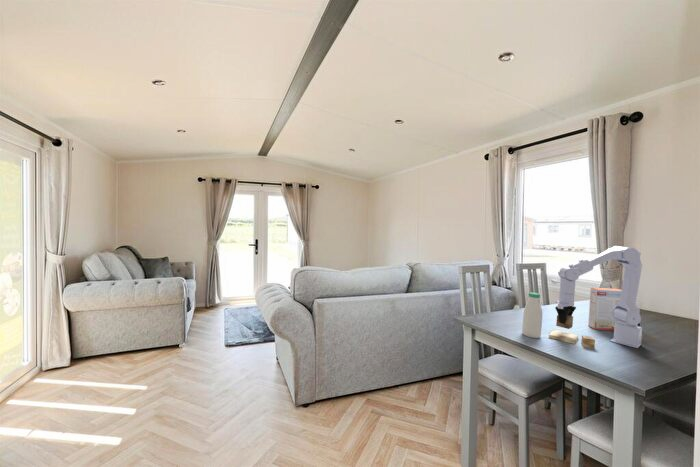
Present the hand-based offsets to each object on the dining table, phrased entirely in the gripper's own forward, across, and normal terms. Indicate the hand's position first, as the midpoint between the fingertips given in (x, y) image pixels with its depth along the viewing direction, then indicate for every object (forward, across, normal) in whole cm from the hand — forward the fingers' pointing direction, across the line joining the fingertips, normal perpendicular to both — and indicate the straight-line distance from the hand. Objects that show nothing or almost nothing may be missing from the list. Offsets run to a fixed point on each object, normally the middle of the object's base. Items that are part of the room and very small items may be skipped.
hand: (564, 322), depth 150 cm
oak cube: (+8, +2, +10) cm, 13 cm away
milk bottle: (+8, +10, -10) cm, 16 cm away
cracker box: (+8, -37, +7) cm, 38 cm away
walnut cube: (+2, 0, 0) cm, 2 cm away
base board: (+8, 0, 0) cm, 8 cm away
